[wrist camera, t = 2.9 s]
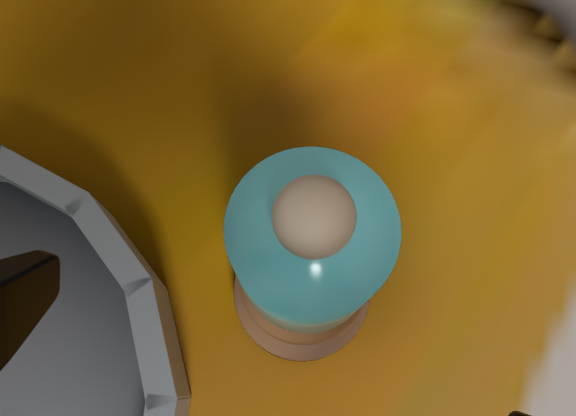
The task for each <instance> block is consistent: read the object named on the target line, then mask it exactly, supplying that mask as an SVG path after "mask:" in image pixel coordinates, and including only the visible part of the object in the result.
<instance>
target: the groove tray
mask: <svg viewBox="0 0 576 416" xmlns="http://www.w3.org/2000/svg"><path fill="white" fill-rule="evenodd" d="M34 250H43V251H46V252H49V253H52V254H55V255H57V256H58V257H59V259H60V291H59V294H58V297H57V298H56V300H55V302H54V303H53V304H52V306H51V307H50V308H49V310H48V311H47V312H46V314H45V315H44V316H43V318H42V319H41V320H40V322H39V323H38V324H37V326H36V327H35V328H34V330H33V331H32V332H31V334H30V335H29V336H28V338H27V339H26V340H25V342H24V343H23V344H22V346H21V347H20V348H19V350H18V351H17V352H16V354H15V355H14V356H13V357H12V359H11V360H10V361H9V362H8V363H7V365H6V366H5V367H4V368H3V369H2V370H1V371H0V416H188V413H189V407H190V400H191V394H190V389H189V385H188V380H187V376H186V371H185V367H184V362H183V358H182V353H181V349H180V344H179V340H178V335H177V331H176V326H175V322H174V317H173V313H172V308H171V304H170V299H169V295H168V290H167V288H166V287H165V286H164V284H163V283H162V282H161V280H160V279H159V278H158V276H157V275H156V274H155V272H154V271H153V270H152V268H151V267H150V266H149V264H148V263H147V261H146V260H145V259H144V257H143V256H142V255H141V253H140V252H139V251H138V249H137V248H136V247H135V245H134V244H133V242H132V241H131V240H130V238H129V237H128V236H127V234H126V233H125V232H124V230H123V229H122V228H121V226H120V225H119V224H118V222H117V221H116V219H115V218H114V217H113V215H112V213H111V212H109V211H108V210H107V209H106V208H105V207H104V206H103V205H102V204H101V203H100V202H99V201H98V200H97V199H96V198H95V197H94V196H93V195H92V194H90V193H89V192H88V191H85V190H83V189H82V188H80V187H78V186H76V185H74V184H72V183H70V182H69V181H67V180H65V179H63V178H61V177H59V176H57V175H56V174H54V173H52V172H50V171H48V170H46V169H45V168H43V167H41V166H39V165H37V164H35V163H33V162H32V161H30V160H28V159H26V158H24V157H22V156H20V155H19V154H17V153H15V152H13V151H11V150H9V149H8V148H6V147H4V146H3V145H0V259H3V258H7V257H11V256H15V255H18V254H22V253H26V252H30V251H34Z"/></svg>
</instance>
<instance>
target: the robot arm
mask: <svg viewBox="0 0 576 416" xmlns="http://www.w3.org/2000/svg"><path fill="white" fill-rule="evenodd" d="M59 291H60V259H59V257H58V256H57V255H55V254H52V253H49V252H46V251H43V250H34V251H30V252H26V253H22V254H18V255H15V256H11V257H7V258H3V259H0V371H1V370H2V369H3V368H4V367H5V366H6V365H7V363H8V362H9V361H10V360H11V359H12V357H13V356H14V355H15V354H16V352H17V351H18V350H19V348H20V347H21V346H22V344H23V343H24V342H25V340H26V339H27V338H28V336H29V335H30V334H31V332H32V331H33V330H34V328H35V327H36V326H37V324H38V323H39V322H40V320H41V319H42V318H43V316H44V315H45V314H46V312H47V311H48V310H49V308H50V307H51V306H52V304H53V303H54V302H55V300H56V298H57V297H58V294H59ZM508 416H531V415H528V414H525V413H522V412H519V411H512V412H511V413H510V414H509V415H508Z"/></svg>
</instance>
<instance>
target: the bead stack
mask: <svg viewBox="0 0 576 416" xmlns="http://www.w3.org/2000/svg"><path fill="white" fill-rule="evenodd" d="M224 242H225V247H226V252H227V255H228V258H229V261H230V263H231V265H232V267H233V269H234V272H235V274H236V277H235V282H234V301H235V306H236V310H237V313H238V316H239V319H240V321H241V323H242V325H243V327H244V328H245V330H246V331H247V333H248V334H249V335H250V336H251V338H252V339H253V340H254V341H255V342H256V343H257V344H258V345H259V346H260V347H262V348H263V349H264V350H266V351H267V352H269V353H271V354H273V355H275V356H277V357H280V358H283V359H286V360H292V361H312V360H317V359H321V358H323V357H326V356H329V355H331V354H332V353H334V352H336V351H338V350H339V349H341V348H342V347H343V346H345V345H346V344H347V343H348V342H349V341H350V340H351V339H352V338H353V337H354V336H355V335H356V333H357V332H358V331H359V329H360V327H361V325H362V324H363V322H364V319H365V317H366V314H367V310H368V306H369V299H370V298H371V297H372V296H373V295H374V294H375V293H376V292H377V291H378V290H379V289H380V288H381V287H382V285H383V284H384V283H385V281H386V280H387V279H388V277H389V275H390V274H391V272H392V270H393V268H394V266H395V263H396V261H397V258H398V254H399V250H400V245H401V222H400V216H399V212H398V209H397V205H396V202H395V200H394V198H393V196H392V194H391V192H390V191H389V189H388V187H387V186H386V184H385V183H384V182H383V181H382V179H381V178H380V177H379V176H378V175H377V174H376V173H375V172H374V171H373V170H372V169H371V168H370V167H369V166H367V165H366V164H364V163H363V162H362V161H360V160H358V159H356V158H355V157H353V156H351V155H349V154H346V153H344V152H341V151H338V150H334V149H330V148H324V147H309V146H308V147H297V148H292V149H288V150H284V151H281V152H279V153H276V154H274V155H272V156H270V157H268V158H266V159H264V160H263V161H261V162H260V163H258V164H257V165H256V166H254V167H253V168H252V169H251V170H250V171H249V172H248V173H247V174H246V175H245V176H244V177H243V178H242V179H241V181H240V182H239V184H238V185H237V186H236V188H235V190H234V192H233V194H232V195H231V197H230V200H229V203H228V206H227V209H226V214H225V218H224Z"/></svg>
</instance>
